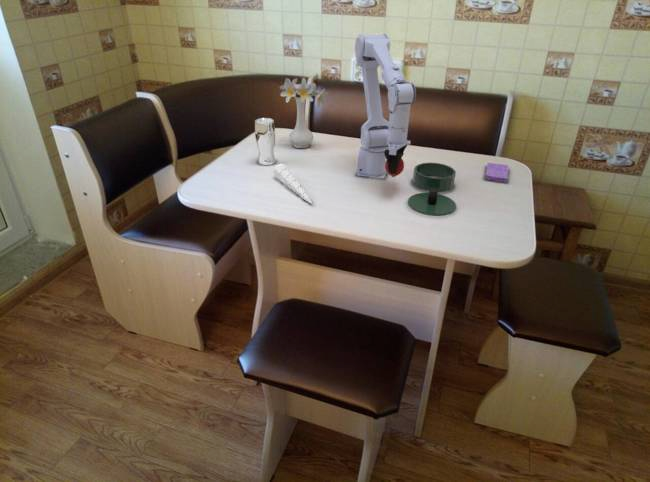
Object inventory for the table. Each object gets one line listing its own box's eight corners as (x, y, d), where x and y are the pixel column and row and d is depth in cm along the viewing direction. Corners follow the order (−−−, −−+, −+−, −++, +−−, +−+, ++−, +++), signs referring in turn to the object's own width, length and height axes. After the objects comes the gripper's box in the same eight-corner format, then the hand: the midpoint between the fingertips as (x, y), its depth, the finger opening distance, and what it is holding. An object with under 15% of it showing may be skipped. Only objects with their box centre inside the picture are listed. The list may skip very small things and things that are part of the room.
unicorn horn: (300, 207, 133) (300, 192, 131) (272, 177, 152) (272, 164, 149) (315, 204, 135) (315, 190, 133) (286, 175, 153) (285, 162, 151)
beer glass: (280, 160, 164) (278, 119, 156) (268, 167, 159) (266, 125, 151) (265, 156, 167) (262, 116, 159) (253, 162, 162) (250, 121, 154)
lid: (404, 213, 131) (406, 196, 129) (410, 193, 143) (412, 177, 140) (454, 220, 128) (457, 204, 125) (456, 199, 140) (459, 183, 137)
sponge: (484, 180, 152) (485, 175, 151) (486, 166, 162) (487, 161, 161) (506, 183, 150) (508, 178, 149) (507, 169, 160) (508, 164, 159)
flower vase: (321, 154, 170) (321, 85, 157) (275, 148, 174) (272, 81, 161) (330, 142, 181) (331, 77, 168) (287, 137, 185) (285, 73, 172)
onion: (402, 181, 138) (404, 156, 134) (383, 179, 139) (385, 155, 135) (403, 174, 143) (406, 150, 139) (385, 172, 144) (387, 148, 140)
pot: (410, 190, 144) (412, 175, 142) (415, 174, 155) (417, 160, 153) (451, 196, 141) (454, 181, 139) (454, 179, 152) (456, 165, 149)
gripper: (408, 135, 126) (403, 180, 133) (415, 120, 138) (410, 162, 145) (383, 132, 127) (379, 177, 135) (392, 118, 139) (388, 159, 146)
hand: (394, 169), depth 140 cm, fingers closed on onion, 6 cm apart
